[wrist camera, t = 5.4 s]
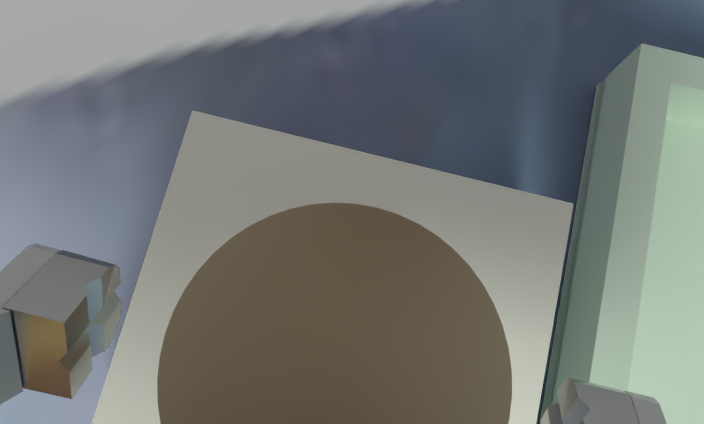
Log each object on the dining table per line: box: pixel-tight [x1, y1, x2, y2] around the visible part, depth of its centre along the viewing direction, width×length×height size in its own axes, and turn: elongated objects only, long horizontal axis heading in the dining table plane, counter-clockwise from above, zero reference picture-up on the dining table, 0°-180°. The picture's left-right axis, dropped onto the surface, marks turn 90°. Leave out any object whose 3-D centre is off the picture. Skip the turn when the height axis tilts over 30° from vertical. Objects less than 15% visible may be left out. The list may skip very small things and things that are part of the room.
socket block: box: [92, 110, 574, 424], centre depth 16 cm, size 10×10×4 cm
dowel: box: [157, 203, 512, 424], centre depth 12 cm, size 3×3×13 cm
